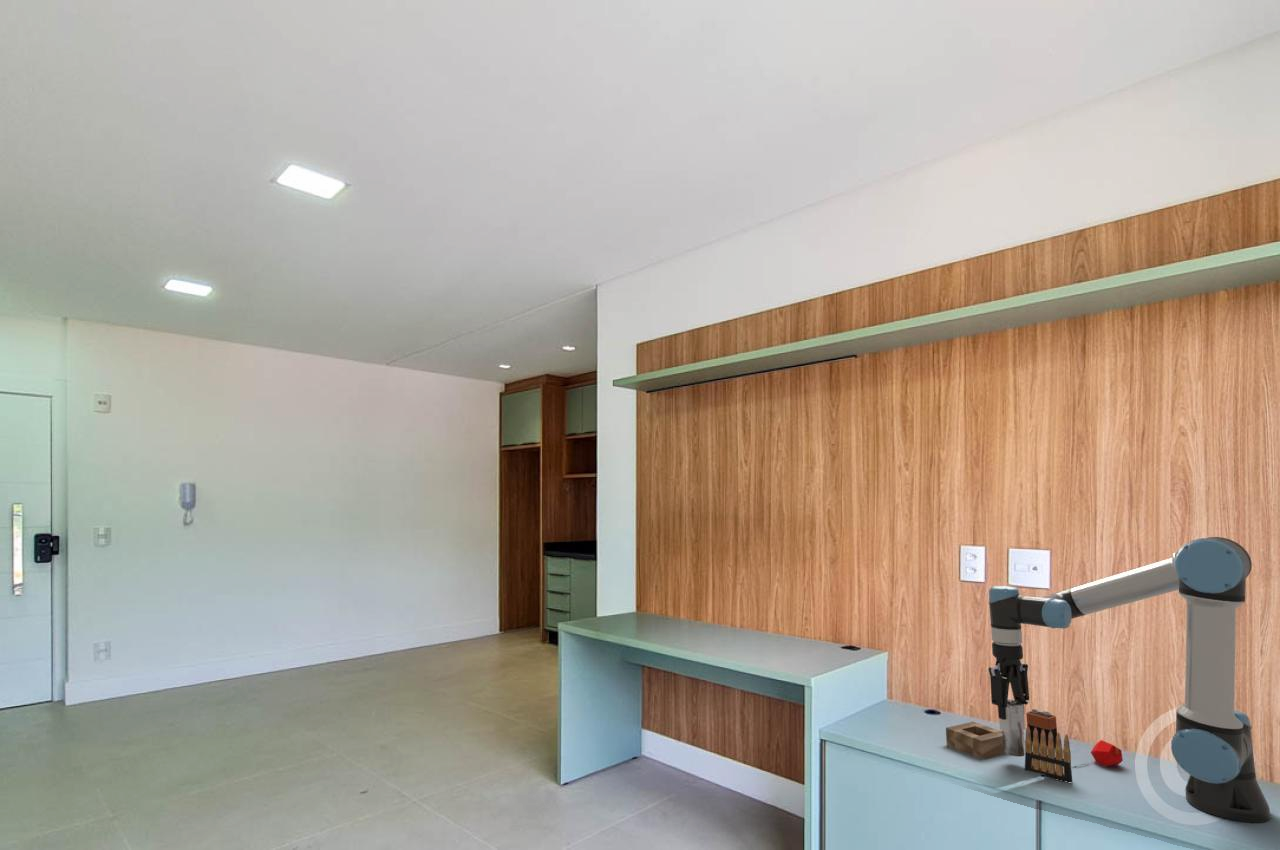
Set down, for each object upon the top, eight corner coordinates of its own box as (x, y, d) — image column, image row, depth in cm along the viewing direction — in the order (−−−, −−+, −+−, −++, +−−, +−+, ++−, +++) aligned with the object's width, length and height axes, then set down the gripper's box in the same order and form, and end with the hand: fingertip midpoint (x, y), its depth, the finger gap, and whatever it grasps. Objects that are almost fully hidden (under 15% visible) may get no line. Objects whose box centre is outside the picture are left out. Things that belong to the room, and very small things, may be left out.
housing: (1011, 755, 190) (1009, 734, 190) (983, 763, 185) (981, 740, 185) (974, 742, 200) (973, 721, 201) (946, 748, 195) (945, 727, 196)
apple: (1081, 739, 188) (1104, 737, 181) (1102, 742, 189) (1125, 740, 182) (1087, 766, 184) (1110, 765, 177) (1108, 769, 185) (1132, 768, 178)
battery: (1051, 750, 193) (1048, 715, 194) (1027, 743, 199) (1025, 709, 200) (1059, 747, 196) (1056, 712, 197) (1035, 740, 201) (1032, 706, 202)
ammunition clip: (1024, 771, 177) (1023, 726, 178) (1025, 769, 179) (1024, 724, 180) (1071, 783, 171) (1070, 736, 172) (1072, 780, 172) (1071, 734, 173)
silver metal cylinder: (1029, 754, 179) (1025, 702, 181) (1016, 757, 177) (1013, 704, 179) (1011, 748, 184) (1008, 697, 186) (999, 751, 182) (995, 699, 183)
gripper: (1015, 637, 191) (1021, 720, 188) (972, 643, 183) (977, 730, 181) (1040, 642, 184) (1046, 728, 182) (997, 649, 177) (1003, 739, 174)
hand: (1012, 729), depth 181 cm, fingers closed on silver metal cylinder, 5 cm apart
